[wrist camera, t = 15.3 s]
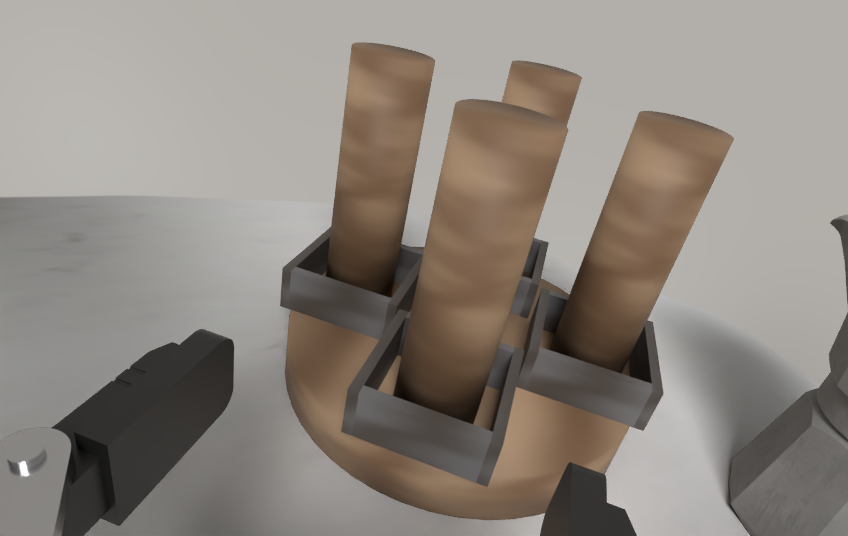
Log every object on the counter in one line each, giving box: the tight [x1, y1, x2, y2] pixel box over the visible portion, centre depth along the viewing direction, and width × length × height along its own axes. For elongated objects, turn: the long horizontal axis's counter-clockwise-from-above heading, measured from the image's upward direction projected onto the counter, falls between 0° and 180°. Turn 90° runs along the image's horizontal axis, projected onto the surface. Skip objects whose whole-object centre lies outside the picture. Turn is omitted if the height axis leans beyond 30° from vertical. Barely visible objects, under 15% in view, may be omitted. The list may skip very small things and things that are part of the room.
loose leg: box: [393, 99, 568, 424], centre depth 22 cm, size 4×4×14 cm
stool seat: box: [280, 43, 734, 520], centre depth 29 cm, size 20×20×17 cm
